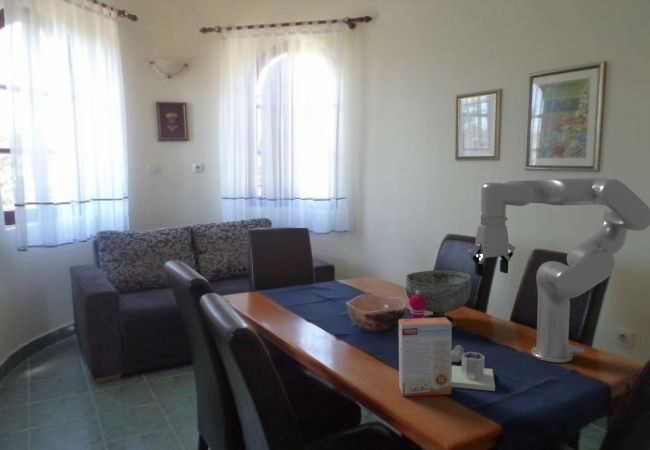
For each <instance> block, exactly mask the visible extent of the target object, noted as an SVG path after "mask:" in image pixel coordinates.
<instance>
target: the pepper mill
mask: <svg viewBox="0 0 650 450" xmlns="http://www.w3.org/2000/svg"><path fill="white" fill-rule="evenodd" d="M415 294H416V295H413V296H412V297H411V298H410V299H408V301H409V302H408V303H409V306H410V314H411V319H418V318H423V317H424V315H425V313H426V311H425V309H424V307H425V306H426V299H425V297H424V296H422V295H420V291H416V292H415Z"/></svg>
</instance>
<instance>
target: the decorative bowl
mask: <svg viewBox="0 0 650 450" xmlns="http://www.w3.org/2000/svg"><path fill="white" fill-rule="evenodd" d="M405 277H406V281H405V285H406V286H405V291H406V296H407V297H408V300H410V298H411V297H412V296H413V295H416V294H415V292H416V291H420V295H422V296H424V297H425V299H426V306H425V307H424V309H425V312H430V313H432V314H427V315H425V316H423V318H445V317H446V318H447V319H448V320H449V321H450V322H451V323H452V328H454V327H456V325H457V323H456V320H455V319H454V318H453V316H450V315H446V314H445V313H447V312H448V313H450V312H452V311H456V310H458V309H460V308H462V307H464V305H465V304H466V303H468V301H469V300H470V298H471V293H472V279H471V278H472V276H471V275H470V274H469V273H465V272H461V271H455V270H454V271H453V270H439V269H438V270H423V271H416V272H411V273H408V274H406V276H405Z"/></svg>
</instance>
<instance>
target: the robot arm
mask: <svg viewBox="0 0 650 450" xmlns="http://www.w3.org/2000/svg"><path fill="white" fill-rule="evenodd" d="M480 196H481V198H480V200H481V201H480V225H478V227H477V230H476V234H475V242H474V246H473V247H472V248H470V249H469V250H468V254H469V256H470V259H472V261H473V263H475V264H474V265H475V266H474V267H475V268H474V273H475V275H476V276H479V277H483V276H484V263H483V262H484V261H485V259H486V258H489V259H490V258H498V257H500V258H501V259H500V261H499V272H500V273H504V274H508V273H509V262H510V261H511V258H512V257H513V255H514V252H515V250H516V246H515V245H513V244H511V243H509V233H508V226H507V225H506V222H508V217H507V216H506V215H507V214H506V212H507V206H516V207H524V206H525V207H526V206H527V205H529V204H545V205H548V206H549V205H551V206H560V207H561V206H586V205H587V206H589V205H591V206H592V205H596V206H606V207H605V209H604V211H603V216H602V224H601V227H600V228H599V230H598V231H597V232H596V233H595V234H594V235H592V236H590V237H588V238H587V239H586V240H584V241H582V242H581V243H579V244H578V245H576V246H574V247H573V248H572V249H570V250H569V252H568V253H567V255H566V262H567V264H565V263H562V262H558V261H555V260H553V261H552V260H550V261H546V262H544V263H541V265H540V266H539V267H538V269H537V271H536V287H537V322H536V324H537V325H536V346H533V347H532V348H531V350H530V354H531V355H532V356H533V357H534V358H536V359H538V360H541V361H546V362H549V363H550V362H551V363H559V364H560V363H568V362H571V361H573V359H574V358H573V357H574V356H573V355H574V354H578V355H583V354H585V348H584V347H579V346H578V345H571V344H570V343H569V330H570V311H571V310H570V307H571V302H570V299H574V298H578V297H580V296H581V295H583V294H585V293H586V292H588V291H590V290H591V289H592V288H594V287H596V286H597V285H598V284H600V283H602V282H604V281H605V280H606V279H607V278H609V276H611V274H612V273H613V271H614V269H615V266H616V260H615V258H614V255H615V254H616V253H618V252H619V251H620V250H622V249H623V247H624V244H625V242H626V238H627V234H628V230H629V231H634V232H638V231H643V230H646V229H647V228H648V227H650V207H649V205H647V203H645V202H644V200H642V199H641V198H640V197H639V196H638V195H637V194H636V193H635V192H633V190H632V189H630V188H629V186H627V185H626V184H625V183H623V182H622V181H620V180H619V179H616V178H605V177H585V178H553V179H552V178H551V179H542V180H541V179H539V180H509V181H506V182H503V183H502V182H486V183H483V184H482V186H481V195H480Z"/></svg>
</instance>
